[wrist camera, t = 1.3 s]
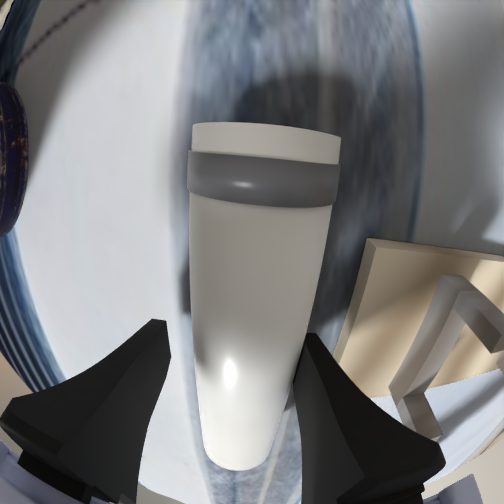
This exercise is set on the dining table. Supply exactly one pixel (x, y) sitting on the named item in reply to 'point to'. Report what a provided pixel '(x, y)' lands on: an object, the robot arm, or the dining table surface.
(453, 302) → the tube stand
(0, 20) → the condiment
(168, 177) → the dining table surface
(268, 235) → the tube
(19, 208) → the storage jar
